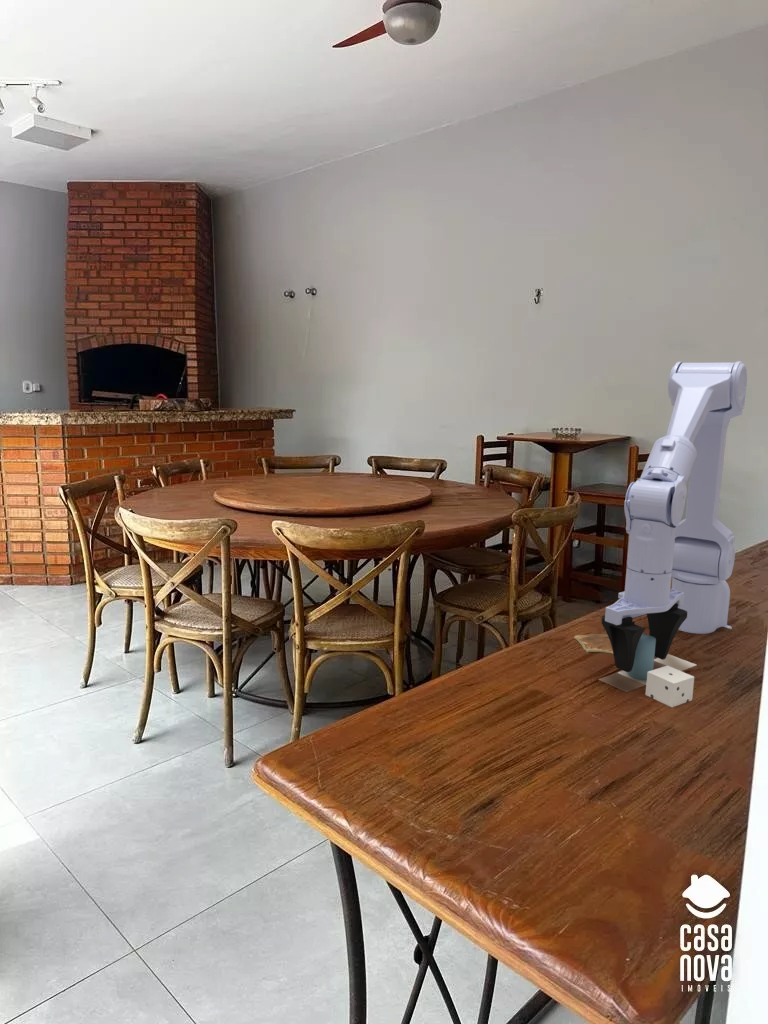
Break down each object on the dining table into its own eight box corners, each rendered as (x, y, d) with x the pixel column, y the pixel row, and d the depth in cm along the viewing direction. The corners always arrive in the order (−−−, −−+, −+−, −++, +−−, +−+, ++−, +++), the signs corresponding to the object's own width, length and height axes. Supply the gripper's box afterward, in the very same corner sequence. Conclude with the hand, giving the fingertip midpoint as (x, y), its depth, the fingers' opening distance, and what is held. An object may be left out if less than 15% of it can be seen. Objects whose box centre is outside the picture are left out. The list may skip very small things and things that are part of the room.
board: (667, 657, 103) (667, 653, 103) (698, 669, 99) (698, 665, 99) (596, 683, 94) (596, 678, 94) (627, 697, 90) (627, 692, 90)
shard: (638, 641, 110) (638, 631, 110) (659, 661, 103) (660, 649, 103) (571, 643, 110) (572, 632, 110) (588, 662, 102) (589, 651, 102)
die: (665, 693, 92) (667, 664, 91) (692, 706, 88) (695, 676, 87) (644, 700, 90) (646, 671, 89) (671, 713, 86) (674, 683, 85)
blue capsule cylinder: (640, 668, 97) (643, 632, 96) (657, 677, 94) (661, 640, 93) (622, 672, 96) (626, 635, 95) (640, 682, 93) (643, 643, 92)
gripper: (656, 554, 99) (648, 642, 102) (589, 569, 92) (582, 664, 94) (701, 565, 94) (692, 658, 96) (634, 582, 86) (626, 683, 89)
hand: (641, 663), depth 95 cm, fingers open, 7 cm apart
